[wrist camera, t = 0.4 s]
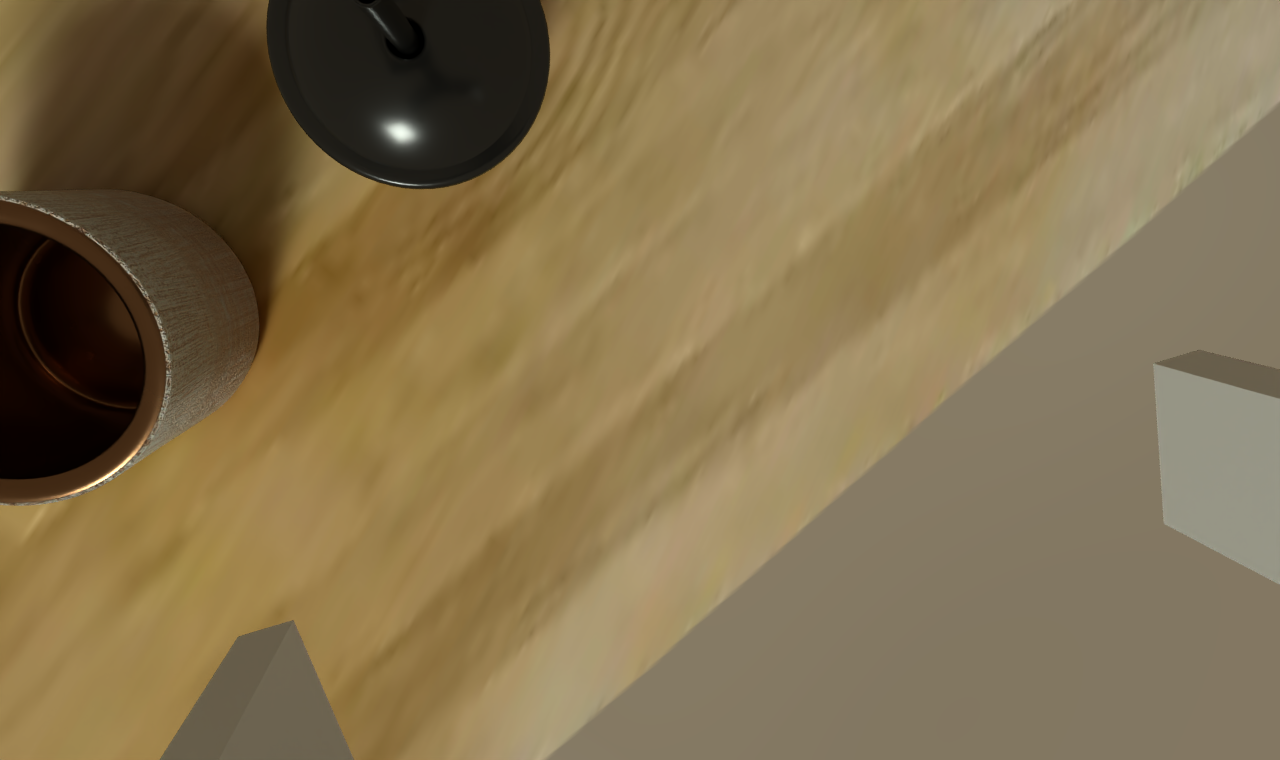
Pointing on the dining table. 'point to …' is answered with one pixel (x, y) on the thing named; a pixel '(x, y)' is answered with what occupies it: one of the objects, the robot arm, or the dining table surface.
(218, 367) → the planter
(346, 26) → the drinking cup
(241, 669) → the robot arm
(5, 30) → the dining table surface
